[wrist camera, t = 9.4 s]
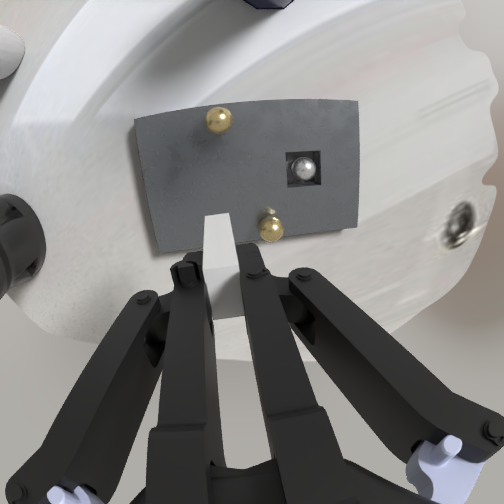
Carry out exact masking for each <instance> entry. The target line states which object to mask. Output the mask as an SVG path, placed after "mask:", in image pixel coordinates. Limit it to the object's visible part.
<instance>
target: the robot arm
mask: <svg viewBox="0 0 504 504" xmlns="http://www.w3.org/2000/svg"><path fill="white" fill-rule="evenodd" d="M45 253H46V243H45V237H44V232H43V229H42V226H41V224H40V221H39V219H38V217H37V216H36V214H35V212H34V211H33V210H32V208H31V207H30V206H29V205H28V204H27V203H26V202H25V201H24V200H23V199H21V198H20V197H18V196H15V195H12V194H3V195H0V299H1V298H2V297H3V296H4V294H5V293H6V292H7V291H8V290H9V289H10V288H12V287H14V286H17V285H19V284H21V283H23V282H26V281H28V280H29V279H31V278H32V277H33V276H34V275H35V274H36V273H37V272H38V271H39V269H40V268H41V266H42V265H43V262H44V259H45ZM170 271H171V275H172V279H173V283H174V290H173V291H172V292H170V293H168V294H165V295H162V296H159V297H158V294H157V292H155V291H153V290H143V291H140V292H138V293H136V294H134V295H133V296H132V297H131V298H130V300H129V301H128V303H127V304H126V305H125V307H124V308H123V310H122V311H121V313H120V314H119V316H118V317H117V319H116V320H115V322H114V323H113V324H112V326H111V327H110V329H109V331H108V332H107V334H106V335H105V337H104V338H103V340H102V341H101V343H100V344H99V346H98V348H97V349H96V351H95V352H94V354H93V355H92V357H91V359H90V360H89V362H88V363H87V365H86V367H85V368H84V370H83V372H82V373H81V375H80V377H79V378H78V380H77V382H76V383H75V385H74V387H73V388H72V390H71V392H70V394H69V395H68V397H67V399H66V400H65V402H64V404H63V406H62V408H61V409H60V411H59V413H58V415H57V417H56V419H55V420H54V422H53V424H52V426H51V428H50V430H49V432H48V434H47V436H46V438H45V440H44V442H43V444H42V446H41V447H40V448H39V449H38V450H37V451H36V452H35V453H34V454H33V455H32V456H31V457H30V458H29V459H28V460H27V461H26V462H25V463H24V465H23V466H22V467H21V468H20V469H19V470H18V471H17V472H16V473H15V474H14V475H13V476H12V477H11V478H10V479H9V481H8V482H7V484H6V488H5V494H6V499H7V501H8V503H9V504H107V503H108V502H109V501H110V499H111V498H112V496H113V494H114V492H115V491H116V488H117V486H118V483H119V481H120V478H121V475H122V473H123V470H124V467H125V465H126V462H127V459H128V456H129V454H130V451H131V448H132V445H133V443H134V440H135V437H136V435H137V432H138V429H139V427H140V424H141V422H142V419H143V417H144V414H145V411H146V409H147V406H148V404H149V401H150V399H151V396H152V394H153V391H154V389H155V386H156V384H157V381H158V379H159V376H160V374H161V372H162V379H161V390H160V401H159V413H158V423H157V426H156V427H154V428H152V429H151V430H150V432H149V438H148V450H147V468H146V487H145V488H144V489H143V490H142V491H141V492H140V493H139V494H138V495H137V496H136V497H135V498H134V500H132V501H131V503H130V504H465V502H466V500H467V498H468V496H469V494H470V492H471V490H472V488H473V486H474V484H475V482H476V480H477V478H478V476H479V474H480V472H481V469H482V467H483V465H484V463H485V462H486V461H487V460H488V459H489V458H490V457H491V456H492V455H493V454H495V453H496V452H497V451H499V450H500V449H501V448H502V447H503V446H504V417H503V416H501V415H500V414H499V413H497V412H494V411H492V410H490V409H488V408H485V407H483V406H481V405H479V404H477V403H475V402H472V401H470V400H468V399H466V398H464V397H462V396H460V395H457V394H455V393H453V392H452V391H451V390H449V389H448V388H447V387H446V386H445V385H444V384H443V383H442V382H441V381H440V380H439V379H438V378H437V377H436V376H435V375H434V374H432V373H431V372H430V371H429V370H428V369H427V368H426V367H425V366H424V365H423V364H422V363H420V362H419V361H418V360H417V359H416V358H415V357H414V356H413V355H412V354H411V353H410V352H409V351H407V350H406V349H405V348H404V347H403V346H402V345H401V344H399V342H398V341H396V340H395V339H394V338H393V337H392V336H391V335H390V334H389V333H388V332H386V331H385V330H384V329H383V328H382V327H381V326H380V325H379V324H377V323H376V322H375V321H374V320H373V319H372V318H371V317H369V316H368V315H367V314H366V313H365V312H364V311H363V310H362V309H360V308H359V307H358V306H357V305H356V304H355V303H354V302H352V301H351V300H350V299H349V298H348V297H347V296H345V295H344V294H343V293H342V292H341V291H340V290H339V289H337V288H336V287H335V286H334V285H333V284H332V283H330V282H329V281H328V280H327V279H326V278H325V277H323V276H322V275H321V274H320V273H319V272H317V271H316V270H314V269H311V268H304V267H303V268H297V269H295V270H292V271H291V272H290V273H289V277H288V278H286V277H276V276H273V275H271V273H270V271H269V270H268V269H266V267H265V265H264V262H263V259H262V256H261V253H260V251H259V248H258V246H256V245H255V244H253V243H249V244H242V245H235V243H234V237H233V232H232V227H231V221H230V216H229V213H224V214H217V215H209V216H205V224H204V245H203V251H197V252H190V253H187V254H186V255H185V256H184V257H183V260H182V261H179V262H177V263H175V264H174V265H172V266H171V268H170ZM239 316H245V321H246V328H247V335H248V338H249V343H250V349H251V354H252V360H253V365H254V370H255V375H256V381H257V385H258V391H259V396H260V402H261V407H262V412H263V417H264V422H265V427H266V432H267V437H268V442H269V447H270V452H271V458H272V459H271V460H269V461H266V462H264V463H261V464H259V465H256V466H253V467H250V468H248V469H234V468H227V466H226V462H225V458H224V450H223V441H222V430H221V419H220V408H219V396H218V383H217V369H216V353H215V336H214V325H213V320H217V319H224V318H232V317H239ZM212 317H213V320H212ZM290 327H291V328H290ZM291 329H292V330H293V331H294V332H295V334H296V335H297V336H298V338H299V339H300V340H301V341H302V343H303V344H304V345H305V346H306V348H307V349H308V350H309V352H310V353H311V354H312V355H313V357H314V358H315V359H316V360H317V362H318V363H319V364H320V365H321V367H322V368H323V369H324V370H325V372H326V373H327V374H328V375H329V377H330V378H331V379H332V381H333V382H334V383H335V384H336V386H337V387H338V388H339V389H340V391H341V392H342V393H343V394H344V396H345V397H346V398H347V399H348V401H349V402H350V403H351V404H352V405H353V407H354V408H355V409H356V411H357V412H358V413H359V414H360V415H361V417H362V418H363V419H364V420H365V422H366V423H367V424H368V425H369V427H370V428H371V429H372V430H373V431H374V433H375V434H376V435H377V436H378V438H379V439H380V440H381V441H382V442H383V444H384V445H385V446H386V447H387V448H388V449H389V450H390V451H391V452H392V453H393V454H394V455H395V456H396V457H397V458H399V459H400V460H401V461H403V462H404V463H406V464H407V465H406V476H407V480H408V481H409V483H411V484H413V485H414V486H415V487H416V489H417V491H418V493H419V495H418V494H415V493H413V492H411V491H409V490H407V489H405V488H402V487H400V486H398V485H396V484H394V483H392V482H390V481H388V480H386V479H384V478H382V477H380V476H378V475H376V474H374V473H372V472H370V471H369V470H367V469H365V468H363V467H361V466H359V465H357V464H356V463H354V462H351V461H349V460H346V459H343V456H342V453H341V451H340V448H339V445H338V442H337V439H336V437H335V434H334V431H333V428H332V426H331V423H330V420H329V417H328V415H327V413H326V410H325V409H324V408H323V407H322V406H319V405H318V403H317V401H316V399H315V395H314V392H313V390H312V387H311V384H310V381H309V378H308V376H307V373H306V370H305V367H304V364H303V361H302V359H301V356H300V353H299V350H298V347H297V345H296V342H295V339H294V336H293V334H292V331H291ZM162 369H163V370H162Z"/></svg>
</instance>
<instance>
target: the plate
mask: <svg viewBox="0 0 504 504" xmlns="http://www.w3.org/2000/svg"><path fill="white" fill-rule="evenodd" d="M215 107H223V108H225V109H227V110H228V111H229V112H230V113H231V114H232V117H233V124H232V126H231V128H230V129H229V130H228V131H227V132H225V133H223V134H213V133H211V132H210V131H208V130H207V128H206V127H205V123H204V119H205V115H206V114H207V112H208V111H209V110H211V109H213V108H215ZM134 123H135V131H136V138H137V144H138V151H139V157H140V163H141V169H142V174H143V180H144V185H145V190H146V195H147V200H148V205H149V210H150V215H151V219H152V224H153V228H154V232H155V237H156V241H157V245H158V249H159V253H167V252H174V251H181V250H188V249H196V248H203V245H204V224H205V216H209V215H217V214H224V213H229V216H230V221H231V227H232V232H233V237H234V243H239V242H247V241H254V240H262V239H263V238H262V237H261V236H260V234H259V224H260V222H261V221H262V220H263V219H264V218H266V217H271V216H272V217H276V218H278V219H279V220H280V221H281V222H282V223H283V226H284V233H283V235H282V237H284V236H292V235H300V234H308V233H316V232H323V231H331V230H339V229H347V228H356V227H357V222H358V204H359V170H360V143H359V110H358V101H350V100H327V99H285V100H262V101H248V102H236V103H226V104H217V105H209V106H202V107H195V108H188V109H182V110H176V111H171V112H165V113H160V114H155V115H151V116H146V117H141V118H137V119H134ZM300 151H314V163H315V165H316V173H315V181H305V182H294V183H287V170H286V153H285V152H300Z"/></svg>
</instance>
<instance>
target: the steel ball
mask: <svg viewBox="0 0 504 504" xmlns="http://www.w3.org/2000/svg"><path fill="white" fill-rule="evenodd" d="M292 173H293V175H294V176H295V177H296V178H297V179H298V180H301V181H307V180H310V179H311V178H313V176H314V175H315V173H316V165H315V163H314V162H313V160H311V159H310V158H308V157H299V158H297V159H296V160H295V161H294V162H293V164H292Z"/></svg>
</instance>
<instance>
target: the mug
mask: <svg viewBox="0 0 504 504" xmlns="http://www.w3.org/2000/svg"><path fill="white" fill-rule="evenodd" d="M24 52H25V43H24V41H23V39H22V37H21V36H20V35H19V34H17V33H16V32H15V31H13V30H11V29H10V28H8V27H5V26H3V25H0V80H1V79H3V78H6V77H7V76H9V75H10V74H12V73H13V72H14V71H15V70H16V69H17V67H18V66H19V64H20V62H21V60H22V58H23V55H24Z"/></svg>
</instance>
